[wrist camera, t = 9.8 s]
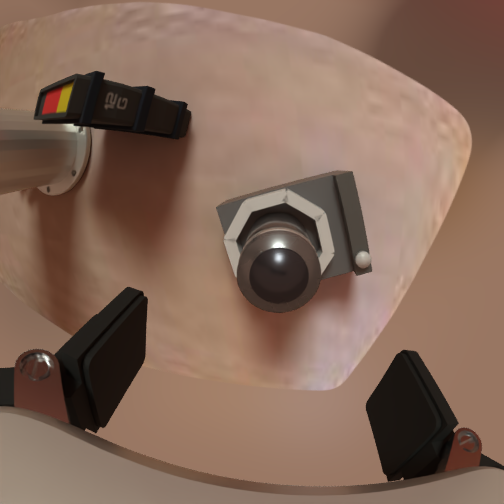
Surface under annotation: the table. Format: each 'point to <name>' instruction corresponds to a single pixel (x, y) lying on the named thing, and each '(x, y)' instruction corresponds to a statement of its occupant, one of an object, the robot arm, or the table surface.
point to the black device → (111, 107)
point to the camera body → (307, 220)
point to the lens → (278, 264)
